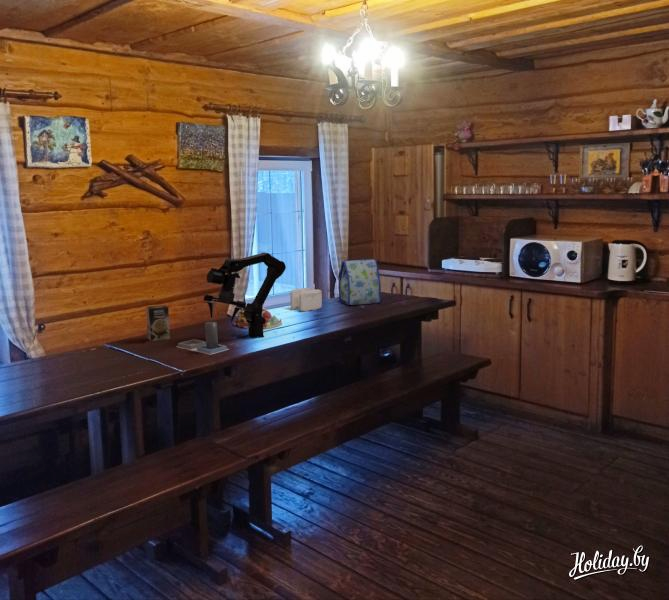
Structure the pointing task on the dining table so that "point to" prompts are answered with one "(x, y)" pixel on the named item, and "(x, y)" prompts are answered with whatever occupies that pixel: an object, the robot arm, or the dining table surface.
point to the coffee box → (158, 322)
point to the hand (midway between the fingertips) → (221, 320)
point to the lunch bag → (359, 282)
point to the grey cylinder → (211, 335)
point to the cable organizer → (306, 299)
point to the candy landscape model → (270, 321)
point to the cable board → (200, 347)
